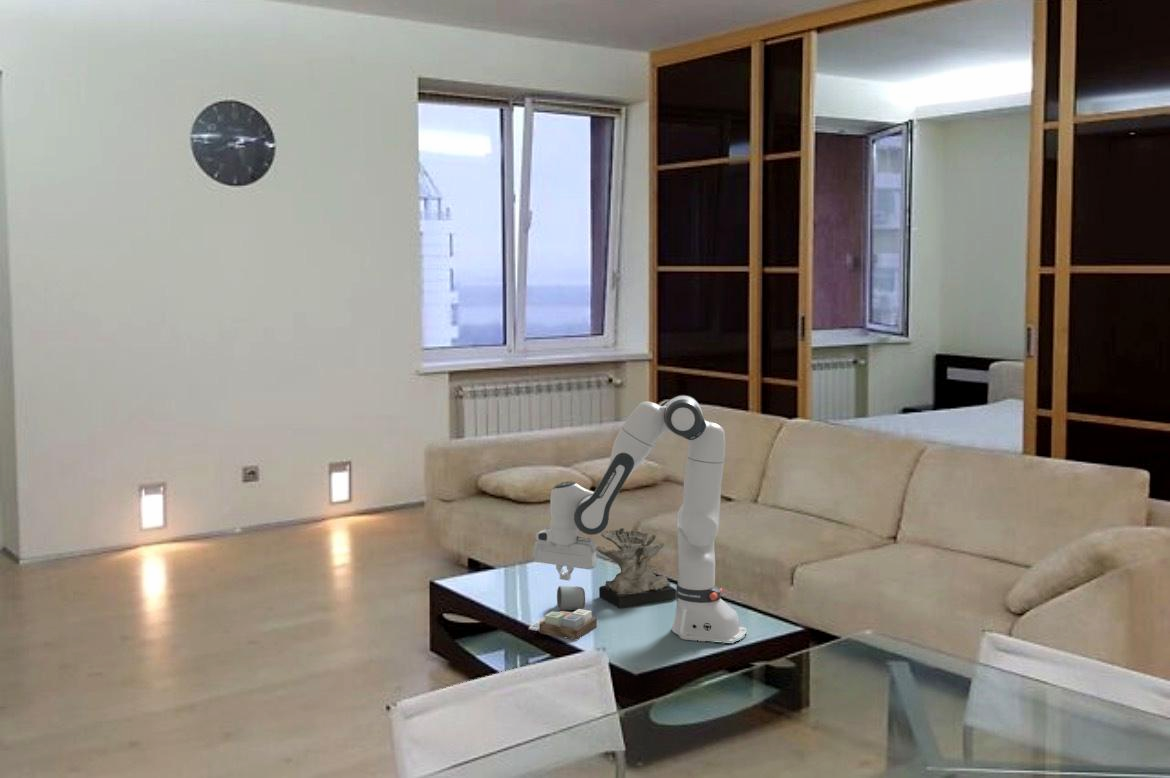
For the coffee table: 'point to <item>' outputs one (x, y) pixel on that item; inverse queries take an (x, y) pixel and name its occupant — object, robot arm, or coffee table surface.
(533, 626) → the card
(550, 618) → the key sage
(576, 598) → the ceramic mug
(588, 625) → the keypad base
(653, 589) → the coral
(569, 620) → the key slate
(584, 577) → the coffee table surface
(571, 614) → the key terracotta
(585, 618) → the key ivory
